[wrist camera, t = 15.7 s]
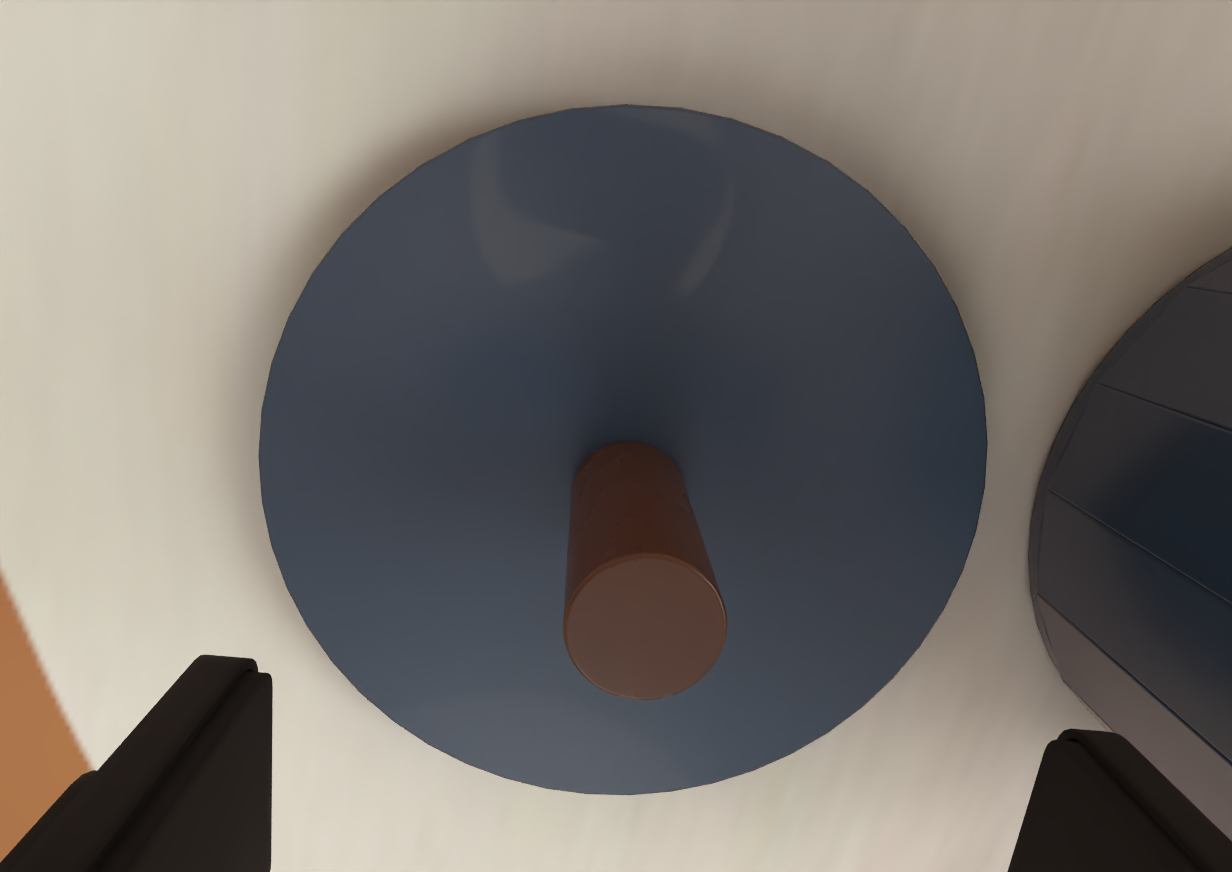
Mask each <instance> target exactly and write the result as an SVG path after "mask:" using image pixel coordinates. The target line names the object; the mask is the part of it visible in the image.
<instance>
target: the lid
mask: <svg viewBox="0 0 1232 872" xmlns="http://www.w3.org/2000/svg"><path fill="white" fill-rule="evenodd" d="M986 459H987V430H986V417H985V404H984V395H983V391H982V386H981V382H980V377H979V372H978V368H977V363H976V359H975V354H974V351H973V348H972V345H971V343H970V340H969V337H968V335H967V332H966V329H965V327H964V324H963V321H962V319H961V316H960V313H959V311H958V308H957V306H956V304H955V303H954V301H953V299H952V297H951V295H950V293H949V292H948V290H947V288H946V286H945V284H944V283H943V281H942V279H941V277H940V275H939V274H938V272H937V270H936V268H935V266H934V265H933V263H932V262H931V261H930V260H929V258H928V257H927V256H926V254H925V253H924V252H923V250H922V249H921V248H920V246H919V245H918V244H917V242H916V241H915V240H914V238H913V237H912V236H911V234H910V233H909V232H908V230H907V229H906V228H905V227H904V226H903V225H902V224H901V223H900V222H899V221H898V220H897V219H896V218H895V217H894V216H893V215H892V214H891V213H890V212H889V211H888V210H887V209H886V208H885V207H884V206H883V205H882V204H881V203H880V202H879V201H878V200H877V199H876V198H875V197H874V196H873V195H872V194H871V193H870V192H869V191H868V190H866V189H865V188H864V187H862V186H861V185H859V184H858V183H857V182H855V181H854V180H853V179H851V178H850V177H849V176H847V175H846V174H844V173H843V172H842V171H840V170H839V169H838V168H836V167H835V166H834V165H832V164H831V163H830V162H828V161H826V160H825V159H823V158H821V157H819V156H817V155H815V154H813V153H811V152H810V151H808V150H806V149H804V148H802V147H800V146H798V145H796V144H795V143H793V142H791V141H789V140H787V139H785V138H783V137H781V136H779V135H776V134H773V133H770V132H767V131H765V130H762V129H759V128H756V127H754V126H751V125H748V124H745V123H743V122H740V121H737V120H734V119H731V118H726V117H722V116H717V115H712V114H707V113H702V112H698V111H693V110H688V109H683V108H676V107H660V106H644V105H629V104H623V105H610V106H597V107H584V108H572V109H567V110H562V111H558V112H553V113H549V114H544V115H540V116H535V117H531V118H526V119H522V120H518V121H515V122H512V123H510V124H507V125H504V126H502V127H499V128H497V129H494V130H491V131H489V132H486V133H483V134H481V135H478V136H475V137H473V138H470V139H467V140H466V141H464V142H462V143H460V144H458V145H456V146H455V147H453V148H451V149H449V150H447V151H446V152H444V153H442V154H440V155H438V156H436V157H435V158H433V159H431V160H429V161H427V162H425V163H424V164H422V165H420V166H419V167H418V168H416V169H415V170H414V171H412V172H411V173H410V174H408V175H407V176H406V177H404V178H403V179H402V180H400V181H399V182H398V183H396V184H395V185H394V186H392V187H391V188H390V189H388V190H387V191H386V192H384V193H383V194H382V195H380V196H379V197H378V198H377V199H376V200H375V201H374V202H373V203H372V204H371V205H370V206H369V207H368V208H367V209H366V210H365V211H364V212H363V213H362V214H361V215H360V216H359V217H358V218H357V219H356V220H355V221H354V222H353V223H352V224H351V225H350V226H349V227H348V228H347V229H346V230H345V231H344V232H343V233H342V234H341V236H340V237H339V238H338V240H337V241H336V242H335V244H334V245H333V246H332V248H331V249H330V250H329V252H328V253H327V254H326V256H325V257H324V258H323V260H322V261H321V262H320V264H319V265H318V266H317V268H316V269H315V270H314V272H313V273H312V275H311V277H310V278H309V280H308V282H307V284H306V286H305V288H304V289H303V291H302V293H301V295H300V297H299V299H298V300H297V302H296V304H295V306H294V308H293V310H292V312H291V313H290V315H289V317H288V320H287V322H286V325H285V328H284V331H283V333H282V336H281V339H280V341H279V344H278V347H277V349H276V352H275V355H274V358H273V360H272V363H271V368H270V373H269V377H268V382H267V387H266V391H265V396H264V401H263V405H262V412H261V427H260V442H259V468H260V482H261V495H262V504H263V509H264V513H265V518H266V523H267V527H268V532H269V537H270V541H271V546H272V549H273V551H274V554H275V557H276V560H277V562H278V565H279V568H280V570H281V573H282V576H283V579H284V581H285V584H286V587H287V589H288V591H289V593H290V595H291V597H292V599H293V600H294V602H295V604H296V606H297V608H298V610H299V612H300V614H301V616H302V618H303V620H304V621H305V623H306V625H307V627H308V628H309V630H310V631H311V633H312V634H313V635H314V637H315V638H316V640H317V641H318V643H319V644H320V645H321V647H322V648H323V650H324V651H325V652H326V654H327V655H328V657H329V658H330V660H331V661H332V662H333V663H334V664H335V666H336V667H337V668H338V669H339V670H340V671H341V672H342V673H343V674H344V675H345V676H346V678H347V679H348V680H349V681H350V682H351V683H352V684H353V685H354V686H355V687H356V689H357V690H358V691H359V692H360V693H361V694H362V695H363V696H365V697H366V698H367V699H368V700H369V701H370V702H372V703H373V704H374V705H375V706H376V707H377V708H379V709H380V710H381V711H382V712H383V713H384V714H386V715H387V716H388V717H389V718H390V719H391V720H393V721H394V722H395V723H397V724H398V725H400V726H401V727H403V728H404V729H406V730H407V731H409V732H410V733H412V734H413V735H415V736H416V737H418V738H419V739H421V740H422V741H424V742H425V743H427V744H428V745H430V746H432V747H434V748H436V749H438V750H440V751H442V752H444V753H446V754H448V755H450V756H452V757H454V758H456V759H458V760H460V761H462V762H464V763H466V764H468V765H471V766H474V767H476V768H479V769H482V770H484V771H487V772H490V773H493V774H495V775H498V776H501V777H503V778H506V779H510V780H514V781H518V782H522V783H526V784H530V785H534V786H538V787H542V788H547V789H554V790H561V791H569V792H576V793H584V794H608V795H636V794H647V793H659V792H671V791H676V790H681V789H686V788H692V787H697V786H702V785H707V784H712V783H715V782H719V781H722V780H725V779H728V778H731V777H735V776H738V775H741V774H744V773H747V772H751V771H753V770H756V769H758V768H760V767H763V766H765V765H767V764H769V763H772V762H774V761H776V760H779V759H781V758H783V757H785V756H788V755H790V754H792V753H794V752H795V751H797V750H799V749H801V748H802V747H804V746H806V745H808V744H809V743H811V742H813V741H814V740H816V739H818V738H820V737H821V736H823V735H825V734H827V733H828V732H830V731H831V730H832V729H834V728H835V727H836V726H838V725H839V724H840V723H842V722H843V721H844V720H846V719H847V718H848V717H850V716H851V715H852V714H854V713H855V712H857V711H858V710H859V709H861V708H862V707H863V706H864V705H865V704H866V703H867V702H868V701H869V700H870V699H871V698H873V697H874V696H875V695H876V694H877V693H878V692H879V691H880V690H881V689H882V688H883V687H884V686H885V685H886V684H887V683H889V682H890V681H891V680H892V679H893V678H894V676H895V675H896V674H897V673H898V672H899V670H900V669H901V668H902V667H903V666H904V665H905V663H906V662H907V661H908V660H909V659H910V657H911V656H912V655H913V654H914V653H915V651H916V650H917V649H918V648H919V647H920V645H921V644H922V642H923V641H924V639H925V638H926V636H927V635H928V633H929V632H930V630H931V629H932V627H933V625H934V624H935V622H936V621H937V619H938V618H939V616H940V615H941V613H942V612H943V610H944V608H945V606H946V604H947V602H948V600H949V598H950V596H951V594H952V592H953V590H954V588H955V586H956V583H957V581H958V579H959V577H960V575H961V573H962V571H963V568H964V565H965V562H966V559H967V556H968V553H969V550H970V547H971V544H972V541H973V539H974V536H975V533H976V529H977V524H978V519H979V514H980V509H981V504H982V499H983V494H984V489H985V475H986Z"/></svg>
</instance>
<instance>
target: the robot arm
mask: <svg viewBox="0 0 1232 872" xmlns="http://www.w3.org/2000/svg"><path fill="white" fill-rule="evenodd" d="M271 808H272V678H271V675H270V674H269V673H260V672H258V667H257V664H256V661H255V660H253V659H250V658H238V657H227V656H215V655H200V656H199V657H198V658H197V659H195V660H194V661H193V663H192V664H191V665H190V666H189V667H188V668H187V669H186V671H185V672H184V673H183V674H182V675H181V676H180V677H179V679H178V680H177V681H176V682H175V683H174V684H173V685H172V687H171V688H170V689H169V690H168V691H167V692H166V693H165V694H164V696H163V697H162V698H161V699H160V700H159V701H158V702H157V704H156V705H155V706H154V707H153V708H152V709H151V710H150V712H149V713H148V714H147V715H146V716H145V717H144V718H143V720H142V721H141V722H140V723H139V724H138V725H137V726H136V728H135V729H134V730H133V731H132V732H131V733H130V734H129V736H128V737H127V738H126V739H125V740H124V741H123V742H122V743H121V745H120V746H119V747H118V748H117V749H116V750H115V751H114V753H113V754H112V755H111V756H110V757H109V758H108V759H107V761H106V762H105V763H104V764H103V765H102V766H101V767H100V769H99V770H98V771H95V770H93V771H90V772H88V773H85V774H83V775H81V776H80V777H79V778H78V779H77V780H76V781H75V782H73V784H71V785H70V786H69V787H68V788H67V790H66V791H65V792H64V793H63V794H62V795H61V796H60V797H59V798H58V800H57V801H56V802H55V803H54V804H53V805H52V806H51V807H50V809H48V811H47V812H46V813H45V814H44V815H43V816H42V817H41V818H40V819H39V821H38V822H37V823H36V824H35V825H34V826H33V827H32V828H31V829H30V831H29V832H28V833H27V834H26V835H25V836H24V837H23V838H22V839H21V840H20V842H19V843H18V844H17V845H16V846H15V847H14V849H12V850H11V852H10V853H9V854H8V855H7V856H6V857H5V858H4V859H3V860H2V862H1V863H0V872H270V869H271ZM1008 872H1232V841H1231V840H1230V839H1229V838H1228V837H1227V836H1226V835H1225V834H1224V833H1223V832H1222V831H1221V830H1220V829H1219V828H1218V827H1217V826H1216V825H1214V824H1213V823H1212V822H1211V821H1210V820H1209V819H1208V818H1207V817H1206V816H1205V815H1204V814H1203V813H1202V812H1201V811H1200V810H1199V809H1198V808H1197V807H1196V806H1195V805H1194V804H1193V803H1192V802H1191V801H1190V800H1189V799H1188V798H1187V797H1186V796H1185V795H1184V794H1183V793H1182V792H1181V791H1179V790H1178V789H1177V788H1176V787H1175V786H1174V785H1173V784H1172V783H1171V782H1170V781H1169V780H1168V779H1167V778H1166V777H1165V776H1164V775H1163V774H1162V773H1161V772H1160V771H1159V770H1158V769H1157V768H1156V767H1155V766H1154V765H1153V764H1152V763H1151V762H1150V761H1149V760H1148V759H1147V758H1146V757H1144V756H1143V755H1142V754H1141V753H1140V752H1139V751H1138V750H1137V749H1136V748H1135V747H1134V746H1133V745H1132V744H1131V743H1130V742H1129V741H1128V740H1127V739H1126V738H1124V737H1123V736H1121V735H1120V734H1117V733H1113V732H1104V731H1092V730H1080V729H1068V730H1064V731H1063V732H1062V733H1061V734H1060V735H1059V737H1058V739H1057V740H1053V741H1051V742H1050V743H1049V744H1048V745H1047V747H1046V749H1045V751H1044V754H1043V758H1042V761H1041V764H1040V768H1039V771H1038V774H1037V777H1036V781H1035V784H1034V787H1033V790H1032V794H1031V797H1030V800H1029V804H1028V807H1027V810H1026V813H1025V817H1024V820H1023V823H1022V826H1021V830H1020V833H1019V836H1018V840H1017V843H1016V846H1015V849H1014V853H1013V856H1012V859H1011V862H1010V866H1009V869H1008Z"/></svg>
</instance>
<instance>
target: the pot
mask: <svg viewBox="0 0 1232 872" xmlns="http://www.w3.org/2000/svg"><path fill="white" fill-rule="evenodd" d="M1028 559H1029V574H1030V590H1031V596H1032V601H1033V605H1034V610H1035V615H1036V619H1037V624H1038V628H1039V630H1040V633H1041V635H1042V638H1043V640H1044V643H1045V645H1046V648H1047V650H1048V653H1049V656H1050V658H1051V659H1052V661H1053V663H1054V664H1055V666H1056V668H1057V670H1058V671H1059V673H1060V676H1061V678H1062V680H1063V682H1064V683H1065V684H1066V685H1067V686H1068V687H1069V689H1070V690H1071V691H1072V692H1073V693H1074V694H1075V695H1076V696H1077V698H1078V699H1079V700H1080V701H1081V702H1082V704H1083V705H1084V706H1085V707H1086V708H1087V709H1088V710H1089V711H1090V712H1091V713H1092V714H1093V716H1094V717H1095V718H1096V719H1097V720H1098V721H1099V722H1100V723H1101V725H1102V726H1103V727H1104V728H1105V729H1106V730H1107V731H1108V732H1113V733H1117V734H1120V735H1121V736H1123V737H1124V738H1126V739H1127V740H1128V741H1129V742H1130V743H1131V744H1132V745H1133V746H1134V747H1135V748H1136V749H1137V750H1138V751H1139V752H1140V753H1141V754H1142V755H1143V756H1144V757H1146V758H1147V759H1148V760H1149V761H1150V762H1151V763H1152V764H1153V765H1154V766H1155V767H1156V768H1157V769H1158V770H1159V771H1160V772H1161V773H1162V774H1163V775H1164V776H1165V777H1166V778H1167V779H1168V780H1169V781H1170V782H1171V783H1172V784H1173V785H1174V786H1175V787H1176V788H1177V789H1178V790H1179V791H1181V792H1182V793H1183V794H1184V795H1185V796H1186V797H1187V798H1188V799H1189V800H1190V801H1191V802H1192V803H1193V804H1194V805H1195V806H1196V807H1197V808H1198V809H1199V810H1200V811H1201V812H1202V813H1203V814H1204V815H1205V816H1206V817H1207V818H1208V819H1209V820H1210V821H1211V822H1212V823H1213V824H1214V825H1216V826H1217V827H1218V828H1219V829H1220V830H1221V831H1222V832H1223V833H1224V834H1225V835H1226V836H1227V837H1228V838H1229V839H1230V840H1231V841H1232V248H1231V249H1230V250H1228V251H1226V252H1225V253H1223V254H1222V255H1220V256H1218V257H1217V258H1215V259H1214V260H1212V261H1210V262H1209V263H1207V264H1206V265H1204V266H1202V267H1201V268H1199V269H1198V270H1197V271H1195V272H1194V273H1193V274H1191V275H1190V276H1189V277H1188V278H1186V279H1185V280H1184V281H1183V282H1181V283H1180V284H1179V285H1177V286H1176V287H1175V288H1174V289H1172V290H1171V291H1170V292H1169V293H1167V294H1166V295H1165V296H1163V297H1162V298H1161V299H1160V300H1159V301H1158V302H1157V303H1156V304H1155V305H1154V306H1153V307H1152V308H1151V309H1150V310H1149V311H1148V312H1146V313H1145V314H1144V315H1143V316H1142V317H1141V318H1140V319H1139V320H1138V321H1137V322H1136V323H1135V324H1134V325H1133V326H1132V327H1131V328H1130V329H1129V330H1128V331H1127V332H1126V333H1125V334H1124V336H1123V337H1122V338H1121V339H1120V341H1119V342H1118V343H1117V344H1116V345H1115V347H1114V348H1113V349H1112V350H1111V351H1110V353H1109V354H1108V355H1107V356H1106V358H1105V359H1104V360H1103V361H1102V362H1101V364H1100V365H1099V366H1098V367H1097V369H1096V370H1095V372H1094V373H1093V375H1092V376H1091V378H1090V379H1089V381H1088V382H1087V384H1086V386H1085V387H1084V389H1083V390H1082V392H1081V393H1080V395H1079V396H1078V398H1077V399H1076V401H1075V402H1074V404H1073V406H1072V408H1071V410H1070V412H1069V414H1068V416H1067V418H1066V420H1065V422H1064V424H1063V426H1062V428H1061V430H1060V432H1059V434H1058V436H1057V438H1056V440H1055V442H1054V444H1053V446H1052V449H1051V452H1050V455H1049V458H1048V460H1047V463H1046V466H1045V469H1044V472H1043V475H1042V477H1041V480H1040V483H1039V488H1038V492H1037V497H1036V502H1035V506H1034V511H1033V515H1032V520H1031V531H1030V544H1029V557H1028Z"/></svg>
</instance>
